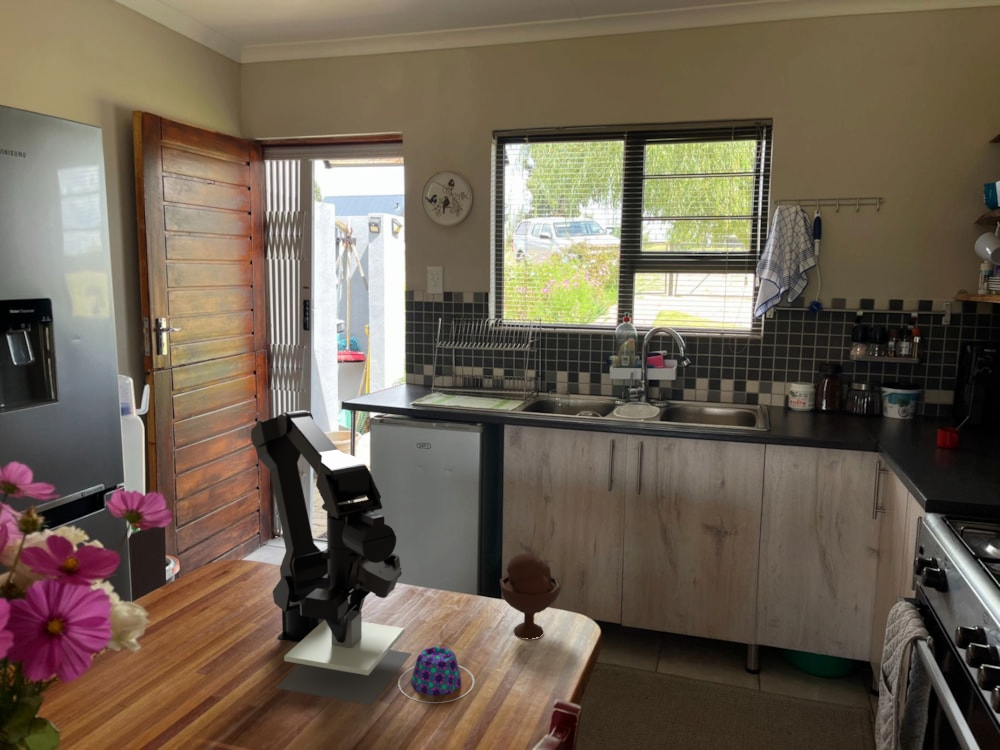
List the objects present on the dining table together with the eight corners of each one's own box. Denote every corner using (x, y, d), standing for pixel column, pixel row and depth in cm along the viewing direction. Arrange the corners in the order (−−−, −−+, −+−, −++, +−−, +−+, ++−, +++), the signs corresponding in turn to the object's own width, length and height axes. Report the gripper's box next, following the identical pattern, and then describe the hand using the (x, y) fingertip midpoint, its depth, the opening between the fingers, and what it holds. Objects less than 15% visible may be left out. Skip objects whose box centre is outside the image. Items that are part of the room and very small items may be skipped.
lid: (284, 660, 116) (283, 628, 115) (328, 620, 129) (327, 591, 128) (368, 675, 112) (368, 641, 111) (404, 632, 125) (404, 602, 125)
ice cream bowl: (555, 650, 130) (558, 567, 128) (492, 642, 132) (494, 560, 130) (563, 622, 140) (565, 545, 138) (504, 616, 142) (505, 539, 140)
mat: (275, 690, 116) (275, 687, 116) (325, 641, 131) (325, 639, 131) (371, 707, 112) (371, 705, 112) (411, 655, 127) (411, 653, 127)
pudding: (487, 677, 121) (488, 646, 121) (451, 715, 111) (451, 682, 110) (423, 659, 126) (423, 629, 126) (382, 694, 116) (382, 662, 115)
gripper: (367, 571, 107) (367, 674, 109) (415, 529, 125) (415, 618, 127) (297, 562, 110) (299, 662, 112) (354, 522, 128) (355, 609, 130)
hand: (346, 636), depth 120 cm, fingers closed on lid, 3 cm apart
